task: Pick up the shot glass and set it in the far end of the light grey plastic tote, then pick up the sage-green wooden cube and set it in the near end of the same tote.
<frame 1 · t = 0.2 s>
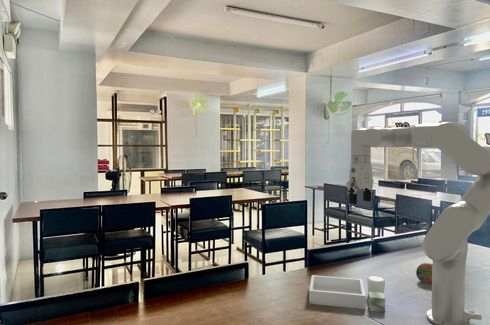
hand: (360, 202, 139), 36 cm above the table, tool pointing down, fingers open, 9 cm apart
tin: (435, 284, 147), on the table
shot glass: (375, 296, 136), on the table
tote: (336, 297, 135), on the table
cube: (376, 308, 126), on the table
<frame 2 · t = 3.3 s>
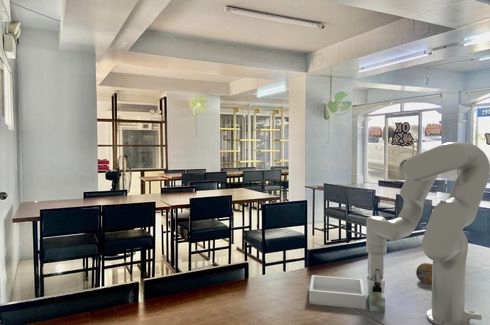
hand: (375, 292, 136), 1 cm above the table, tool pointing down, fingers closed on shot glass, 6 cm apart
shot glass: (375, 296, 136), on the table, touching gripper
everything else where it was.
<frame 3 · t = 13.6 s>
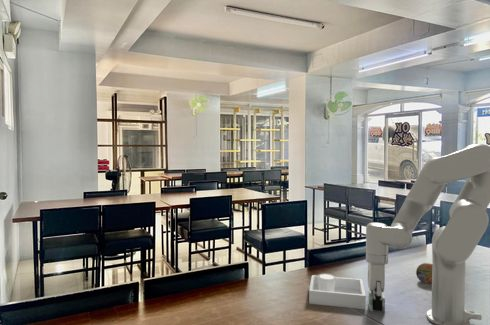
hand: (376, 306, 126), 1 cm above the table, tool pointing down, fingers closed on cube, 5 cm apart
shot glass: (326, 294, 136), point 1 cm above the table, touching tote
cube: (376, 308, 126), on the table, touching gripper
everything else where it was.
when the fingers open (3 cm above the table, at t = 18.8 s): cube drops 1 cm, resting on tote.
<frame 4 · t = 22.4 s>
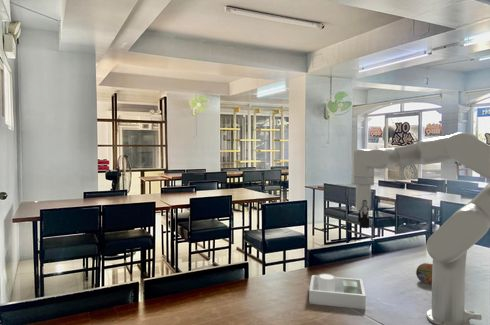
hand: (363, 225, 134), 28 cm above the table, tool pointing down, fingers open, 9 cm apart
cube: (350, 296, 134), point 1 cm above the table, touching tote
everything else where it was.
at the end: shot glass inside the target area on the tote (3.8 cm from its centre), point 0.6 cm above the tote's base; cube inside the target area on the tote (5.0 cm from its centre), point 0.8 cm above the tote's base; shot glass tilted 0° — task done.
